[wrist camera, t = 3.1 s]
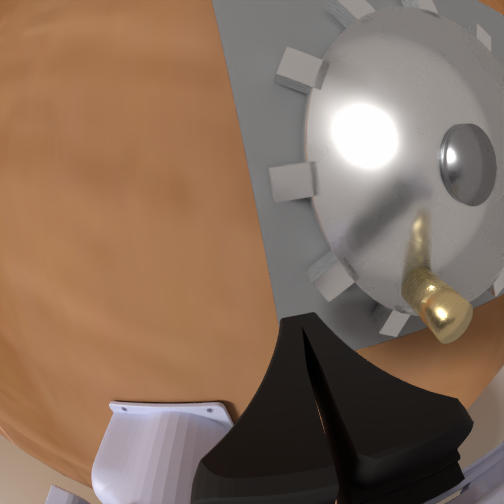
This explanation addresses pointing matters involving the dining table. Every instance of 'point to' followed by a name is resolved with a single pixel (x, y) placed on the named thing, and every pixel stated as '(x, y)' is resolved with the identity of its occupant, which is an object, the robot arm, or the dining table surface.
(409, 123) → the sprocket
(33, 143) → the dining table surface
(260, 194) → the timing board
